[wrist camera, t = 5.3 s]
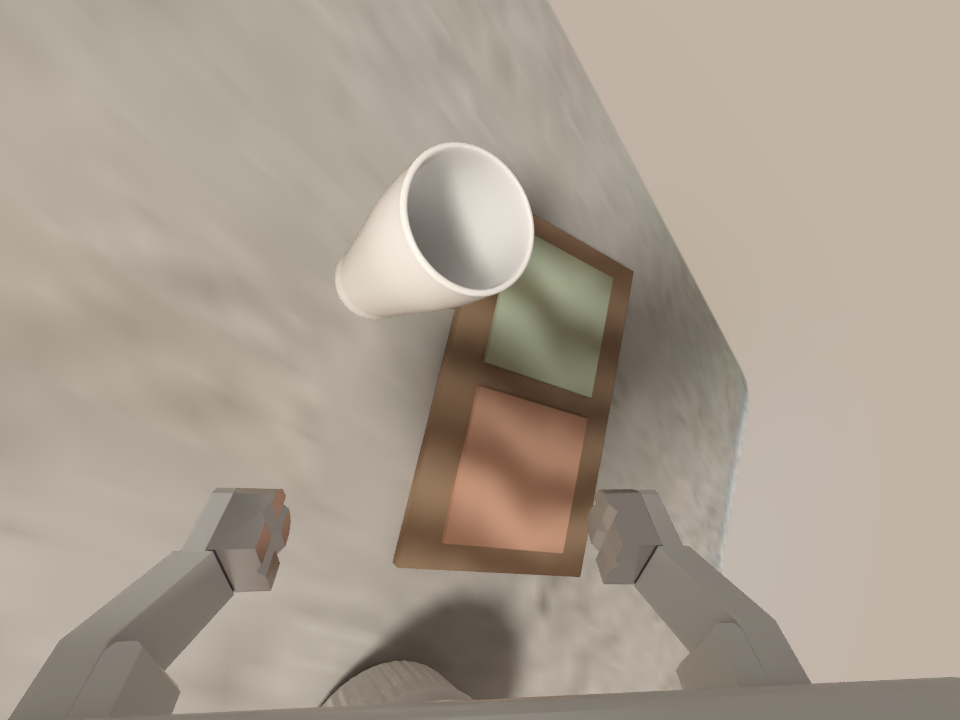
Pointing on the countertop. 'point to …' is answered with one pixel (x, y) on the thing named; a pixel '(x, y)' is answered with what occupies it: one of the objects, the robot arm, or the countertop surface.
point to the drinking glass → (439, 236)
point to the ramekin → (395, 686)
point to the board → (520, 419)
